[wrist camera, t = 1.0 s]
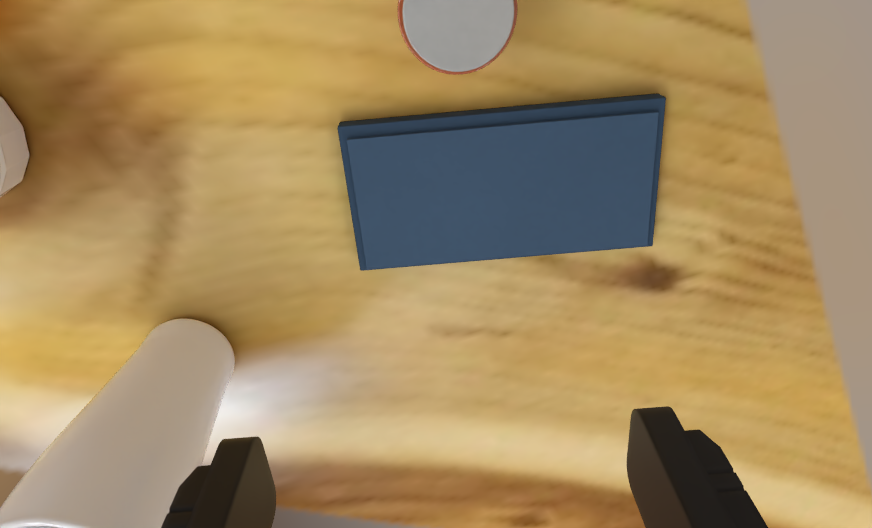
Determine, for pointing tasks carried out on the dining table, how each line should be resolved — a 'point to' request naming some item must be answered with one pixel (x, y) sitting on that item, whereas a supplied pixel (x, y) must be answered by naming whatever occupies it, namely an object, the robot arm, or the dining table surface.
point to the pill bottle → (457, 32)
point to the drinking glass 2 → (131, 437)
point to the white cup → (11, 149)
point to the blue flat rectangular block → (504, 181)
